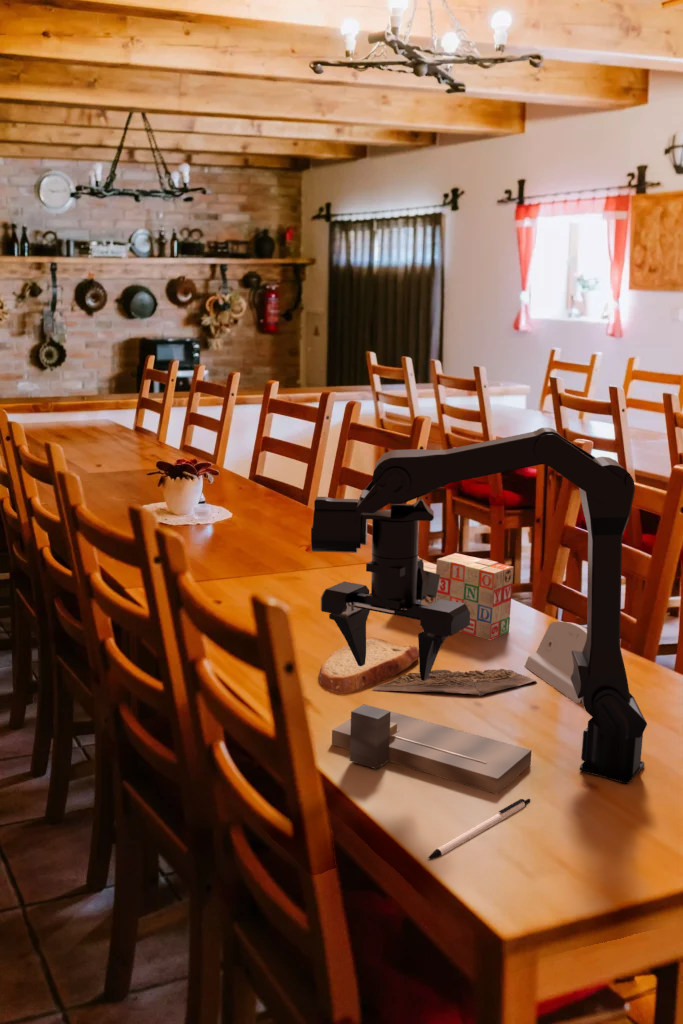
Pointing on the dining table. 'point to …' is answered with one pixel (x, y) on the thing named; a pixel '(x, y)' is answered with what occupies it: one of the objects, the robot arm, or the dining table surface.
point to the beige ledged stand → (558, 656)
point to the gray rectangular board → (449, 753)
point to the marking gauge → (370, 735)
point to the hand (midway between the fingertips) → (392, 672)
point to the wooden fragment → (457, 682)
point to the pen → (480, 828)
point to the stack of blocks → (475, 591)
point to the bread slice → (365, 665)
